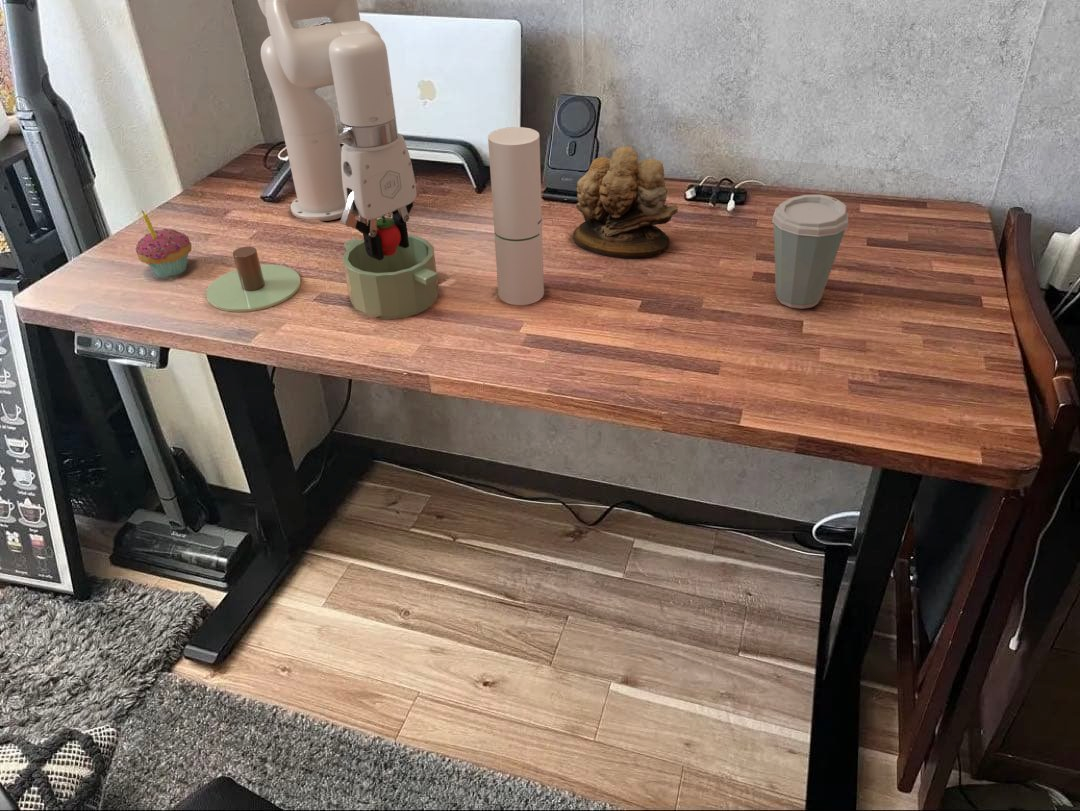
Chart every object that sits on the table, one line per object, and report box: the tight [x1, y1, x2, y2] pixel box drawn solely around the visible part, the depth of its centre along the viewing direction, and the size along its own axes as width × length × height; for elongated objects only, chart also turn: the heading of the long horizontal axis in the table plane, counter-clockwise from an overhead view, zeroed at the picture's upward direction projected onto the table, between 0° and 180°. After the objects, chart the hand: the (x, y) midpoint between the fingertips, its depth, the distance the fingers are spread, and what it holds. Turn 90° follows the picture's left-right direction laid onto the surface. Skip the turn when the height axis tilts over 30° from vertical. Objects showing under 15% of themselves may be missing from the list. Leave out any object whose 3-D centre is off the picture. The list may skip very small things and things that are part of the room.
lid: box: [205, 246, 302, 313], centre depth 133 cm, size 15×15×7 cm
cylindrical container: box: [487, 126, 545, 306], centre depth 125 cm, size 7×7×25 cm
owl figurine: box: [572, 145, 679, 259], centre depth 140 cm, size 18×12×17 cm, turn 69°
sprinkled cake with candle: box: [135, 209, 192, 278], centre depth 138 cm, size 9×8×12 cm
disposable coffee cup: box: [771, 194, 849, 310], centre depth 125 cm, size 11×11×15 cm
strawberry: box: [376, 215, 401, 256], centre depth 126 cm, size 4×4×6 cm
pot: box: [342, 234, 439, 320], centre depth 131 cm, size 14×19×8 cm
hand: (388, 250), depth 128 cm, fingers closed on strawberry, 4 cm apart
